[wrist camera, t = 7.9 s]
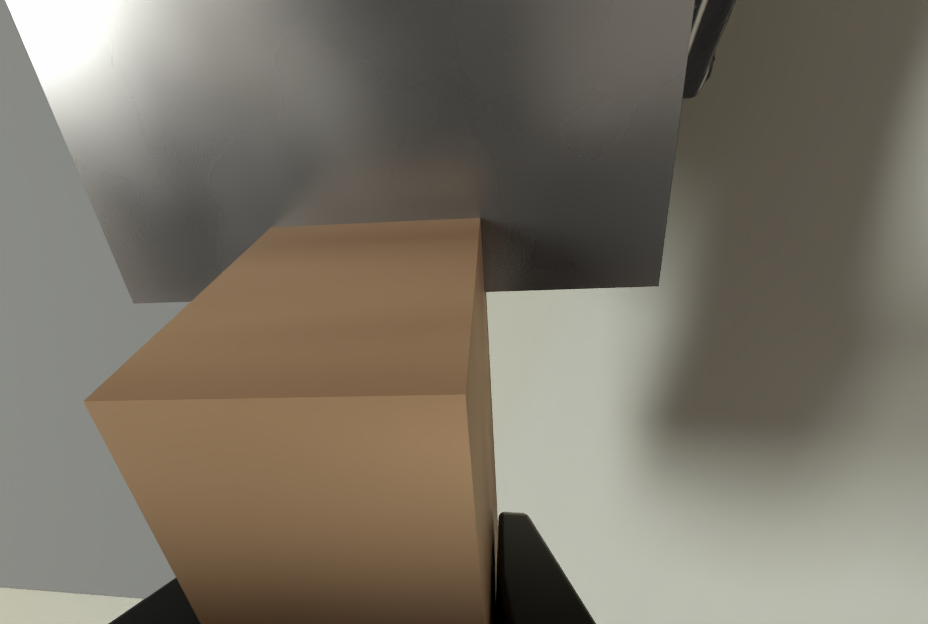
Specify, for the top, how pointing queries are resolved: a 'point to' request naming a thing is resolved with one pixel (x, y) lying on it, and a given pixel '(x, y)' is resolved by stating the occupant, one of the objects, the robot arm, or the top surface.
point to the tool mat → (61, 362)
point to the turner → (348, 264)
